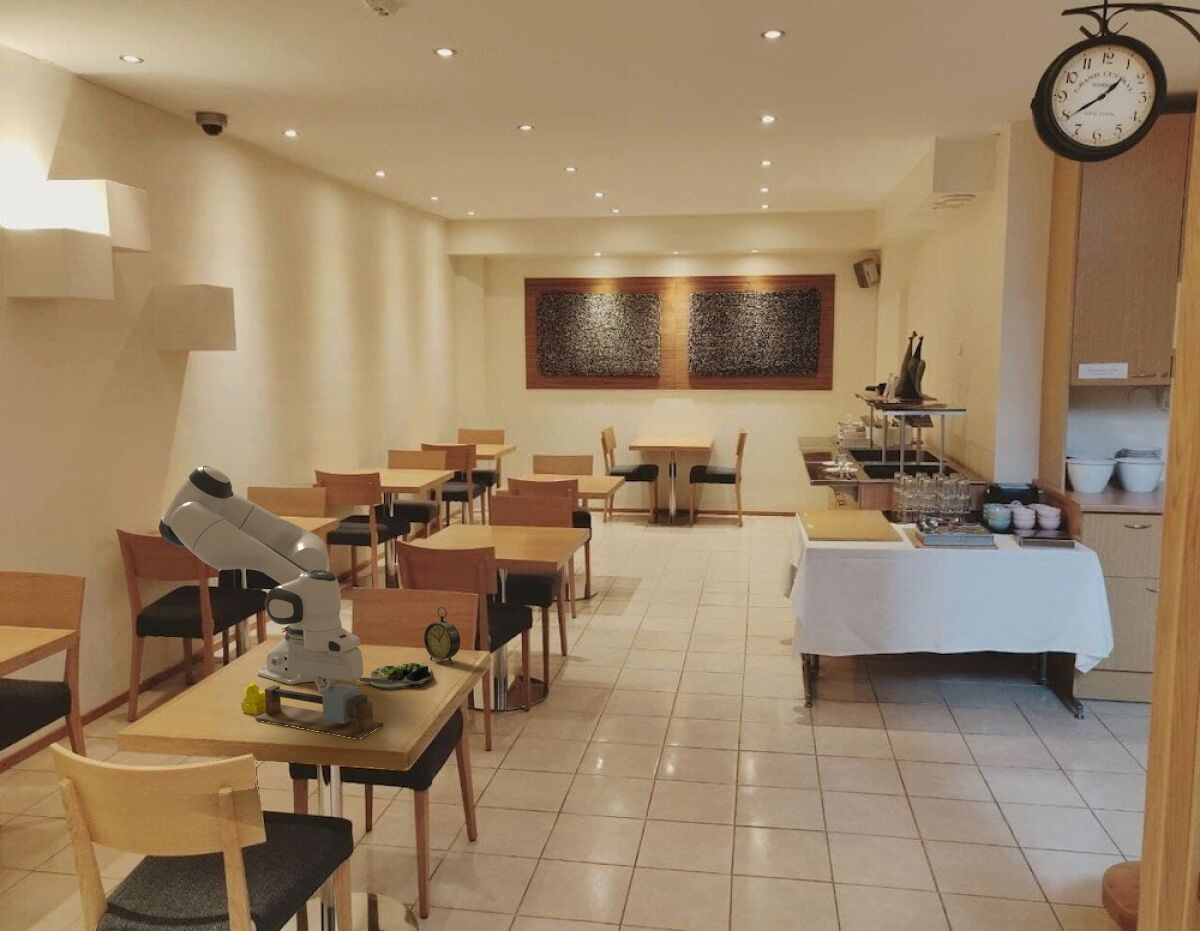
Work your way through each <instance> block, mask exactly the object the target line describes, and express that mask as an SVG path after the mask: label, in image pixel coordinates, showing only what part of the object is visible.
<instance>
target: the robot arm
mask: <svg viewBox="0 0 1200 931" xmlns="http://www.w3.org/2000/svg"><path fill="white" fill-rule="evenodd" d="M232 489H233V486H232V482H231V481H230V478H229V477H228V476H227V475H225V473H223V472H222V471H220V470H219V469H218V468H214V467H211V466H207V465H204V466H197V467H196V468H195V469H194V470H193V471H192V472H191V473H190V474H189V475H188V478H187V480H186V481H185V482H184V483H183V484H182V485H181V487H179V489H178V490H177V492H176V493H175V495H174V497H173V500H172V501H171V502H170V504H169V506H168V507H167V510H166V512H165V514H164V515H163V516H162V517H161V519H160V522H159V523H158V524H159V525H158V531H159V534H160V535H161V537H162V538H163V539H164V540H165V541H166V542H167V543H169V544H171V545H174V546H175V547H179V548H187V549H188V550H189V551H190V552H191V553H192V554H193V555H194V556H196V557H197V559H199V560H201V562H203V563H204V564H206V565H208V566H210V567H211V568H214V569H217V570H223V571H224V570H225V571H226V570H254V571H258V572H261V573H264V574H265V575H266V576H268V577H269V578H271V579H273V580H274V581H276V582H277V583H279V584H280V585H277V586H275V587H274V588H272V589H270V590H269V591H268V592H267V594H266V596H265V600H264V609H265V612H266V614H267V616H268V618H269V619H270V620H271V621H272V622H274V623H275V624H277V625H280V626H281V625H287V626H285V627H283V628H281V630H282V631H281V633H285V636H284V638H283V639H282V640H281V641H280V642H278V643H277V644H276V645H275V646H273V647H272V648H271V649H270V650H269V651H268V653H267V656H266V662H265V664H266V665H263V666H262V667H260V668H259V669H258V671H257V675H258V676H260V677H263V678H267V679H270V680H274V681H277V682H280V683H283V684H287V685H297V684H301V683H309V682H311V683H312V682H314V683H315V685H316V687H317V690H318V695H322V692H323V691H325V690H327V689H329V688H331V687H333V686H335V683H336V682H337V681H341V682H347V683H348V682H349V683H354V682H356V681H358V680H359V679H360V678H363V675H364V663H363V655H362V651H361V650H360V648H359V646H360V645H361V639H360V637H359V636H357V635H356V634H353V633H351V632H349V631H348V630H346V629H345V628H343V627H342V619H341V616H340V614H341V613H340V612H341V609H342V608H341V607H342V603H341V602H342V601H341V599H342V598H341V589H340V584H339V581H338V578H337V576H336V575H335V574H334V573H333V572H330V556H329V552H328V549H327V546H326V543H325V541H324V540H323V539H322V538H321V537H320V536H319V535H316V533H313V532H312V531H310V530H307V529H305V528H303V527H302V526H299V525H297V524H295V523H293V522H290V521H288V520H286V519H284V518H282V517H279V516H278V515H276V514H275V513H273V512H271V511H269V510H267V509H265V508H264V507H262V506H260V505H259V504H257V503H255V502H253V501H252V500H249V499H247V498H245V497H243V496H240V495H238V494H236V493H234V492H233V490H232ZM324 680H325V681H324ZM325 682H326V683H327V684H325Z"/></svg>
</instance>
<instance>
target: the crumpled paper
mask: <svg viewBox="0 0 1200 931" xmlns="http://www.w3.org/2000/svg"><path fill="white" fill-rule="evenodd" d="M250 681H251V682H250V683H249V685H248V686H246V687H245V688H243V690H244V691H243V692H244V693H243V694H244V696H245V697H244V698H243V700H242V701H241V703H240V706H241V708H242V709H241V708H240V709H241V710H243V713H244V712H246V713H245V714H250V713H258V712H259V713H261V712H266V702H265V689H260V687H259V686H258V685H257V684H256V682H254V680H253V679H252V680H250ZM262 710H264V711H262ZM260 711H261V712H260ZM259 713H258V714H259Z"/></svg>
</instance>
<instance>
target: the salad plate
mask: <svg viewBox="0 0 1200 931" xmlns="http://www.w3.org/2000/svg"><path fill="white" fill-rule="evenodd" d="M432 677H433V674H432V670H431V667H430V666H429V665H427V664H424V663H418V662H417V663H416V662H415V663H414V662H407V663H402V664H400V665H384V666H380V667H378V668H375V669H373V670H371V672H370V675H369V677H363V676H362V677H361V678H360V679H358V680H359V681H360V682H363V683H367V684H370V685H372V686H373V687H377V688H379V689H380V688H381V689H384V688H385V690H391V689H390V688H397V689H403V688H402V687H411V688H416V687H415V686H419V687H422V686H425V685H427V684H429V683H430V682H431V681H432ZM428 682H429V683H428ZM426 683H427V684H426ZM424 684H425V685H424ZM421 685H422V686H421Z"/></svg>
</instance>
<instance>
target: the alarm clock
mask: <svg viewBox="0 0 1200 931" xmlns="http://www.w3.org/2000/svg"><path fill="white" fill-rule="evenodd" d="M440 609H443V610H444V613H445V614H444V615H445V616H444V615H443V616H442V615H441V614H440V612H439V611H440ZM437 615H438V616H439V618H440V620H439V621H435V622H432V623H430V624H429V625H428V626H427V627H426V629H425V631H424V635H423V641H424V646H425V649H426V652H427V654H429V656H430V657H429V660H430V659H432V660H433V659H434V660H436V661H444V660H446V659H448V660H449V662H450V664H453V665H454V663H453V660H452V658H453V657H454V656H455V655H457V653H458V652H459V650H460V648H461V636H460V632H459V631H458V629H457V627H456V626H455V625H454V624H453V623H452V622H450V621H448V620H444V619H445V618H446V617H447V615H448V612H447V610H446V608H445V607H443V606H439V607H438V608H437Z"/></svg>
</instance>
